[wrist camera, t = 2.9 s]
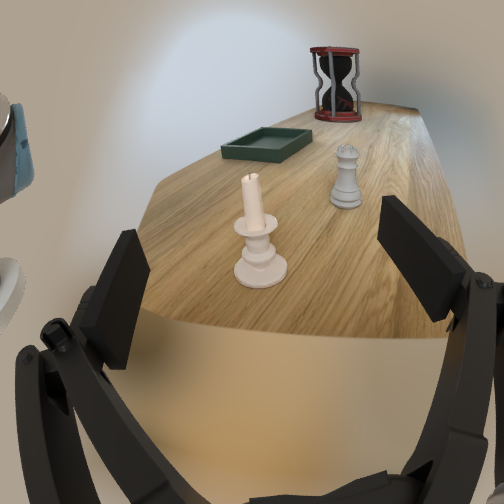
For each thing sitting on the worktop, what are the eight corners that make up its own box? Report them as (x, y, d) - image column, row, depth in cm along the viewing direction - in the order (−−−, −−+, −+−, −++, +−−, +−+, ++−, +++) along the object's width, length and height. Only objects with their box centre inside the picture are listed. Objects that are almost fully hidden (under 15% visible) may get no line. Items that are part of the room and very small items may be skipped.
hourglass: (321, 113, 98) (317, 49, 83) (364, 116, 91) (362, 50, 76) (308, 120, 87) (303, 46, 72) (358, 124, 80) (355, 47, 65)
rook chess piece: (337, 193, 41) (337, 140, 37) (365, 200, 39) (368, 146, 34) (324, 205, 39) (324, 148, 34) (355, 213, 36) (358, 154, 32)
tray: (280, 163, 54) (278, 149, 52) (222, 158, 60) (220, 145, 59) (312, 141, 66) (312, 129, 64) (262, 137, 72) (261, 127, 70)
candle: (233, 291, 27) (213, 186, 21) (235, 257, 31) (220, 163, 25) (289, 286, 27) (285, 179, 21) (285, 253, 31) (279, 157, 25)
